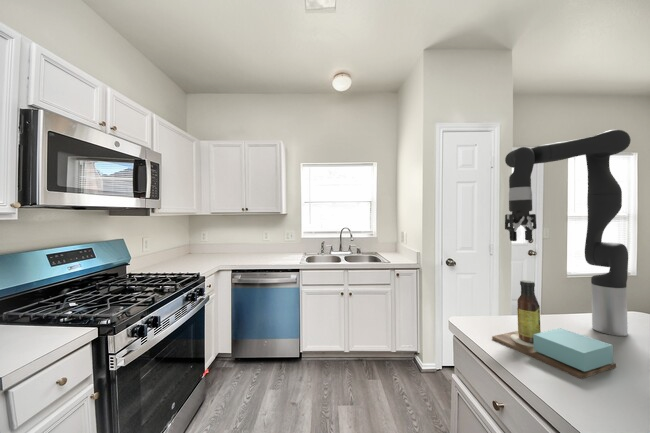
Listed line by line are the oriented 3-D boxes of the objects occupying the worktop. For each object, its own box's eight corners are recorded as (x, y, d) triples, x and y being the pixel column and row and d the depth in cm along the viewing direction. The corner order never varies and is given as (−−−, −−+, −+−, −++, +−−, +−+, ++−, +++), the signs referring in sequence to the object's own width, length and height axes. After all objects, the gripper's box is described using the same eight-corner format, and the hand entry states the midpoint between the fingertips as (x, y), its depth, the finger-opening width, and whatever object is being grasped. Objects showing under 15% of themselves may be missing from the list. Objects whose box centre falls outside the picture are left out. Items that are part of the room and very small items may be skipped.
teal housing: (560, 343, 90) (560, 328, 90) (613, 362, 78) (612, 345, 78) (533, 350, 86) (533, 334, 86) (584, 371, 74) (584, 353, 74)
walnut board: (523, 332, 103) (523, 328, 103) (615, 367, 79) (615, 362, 79) (492, 339, 98) (492, 335, 98) (580, 378, 73) (580, 373, 73)
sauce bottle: (544, 344, 90) (544, 284, 90) (523, 343, 91) (522, 283, 91) (534, 336, 96) (533, 279, 96) (514, 335, 98) (513, 279, 98)
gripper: (516, 198, 102) (517, 242, 102) (542, 198, 107) (543, 240, 106) (498, 199, 109) (499, 240, 109) (523, 200, 114) (524, 239, 113)
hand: (521, 240), depth 108 cm, fingers open, 8 cm apart
